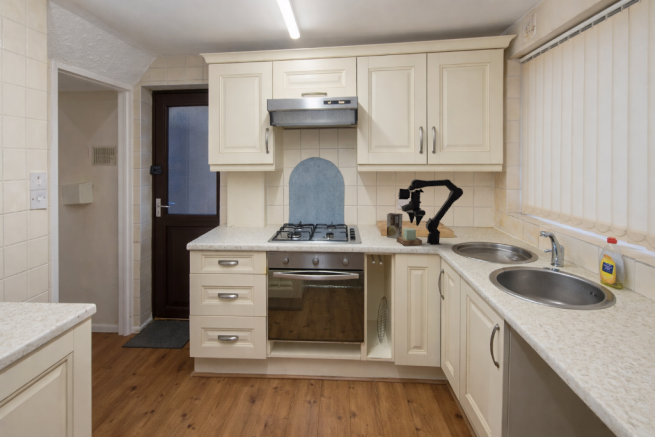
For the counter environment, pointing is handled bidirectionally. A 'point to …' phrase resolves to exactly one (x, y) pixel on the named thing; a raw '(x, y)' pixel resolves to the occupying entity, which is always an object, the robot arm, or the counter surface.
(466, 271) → the counter surface
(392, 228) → the coffee box
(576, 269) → the counter surface
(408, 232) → the cube
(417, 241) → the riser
